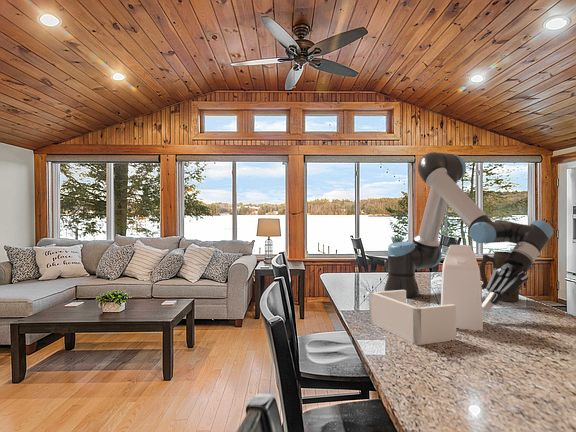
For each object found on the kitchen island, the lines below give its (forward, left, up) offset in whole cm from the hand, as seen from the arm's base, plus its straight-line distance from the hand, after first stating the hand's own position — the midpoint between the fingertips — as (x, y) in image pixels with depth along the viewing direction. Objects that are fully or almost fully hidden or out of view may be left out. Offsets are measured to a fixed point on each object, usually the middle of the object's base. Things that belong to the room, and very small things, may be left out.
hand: (484, 309), depth 133 cm
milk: (0, -10, -4) cm, 11 cm away
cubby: (0, -30, -4) cm, 30 cm away
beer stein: (-24, +33, -4) cm, 41 cm away
